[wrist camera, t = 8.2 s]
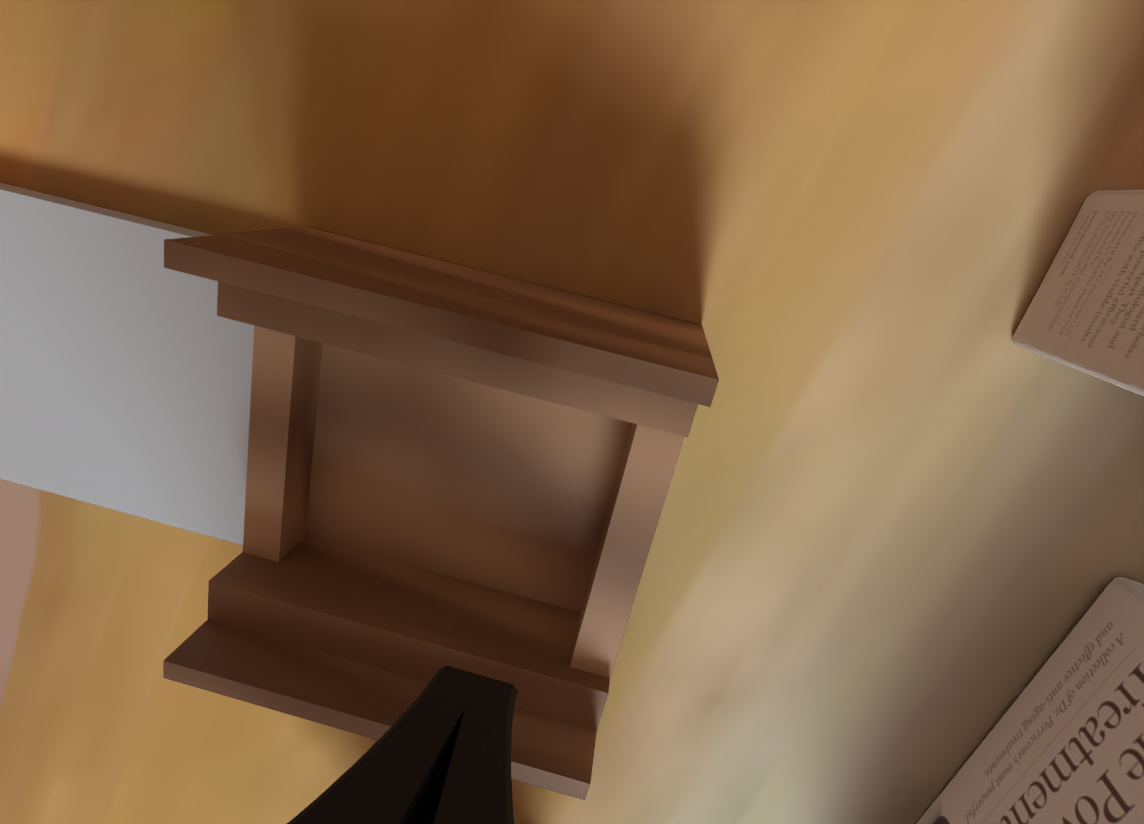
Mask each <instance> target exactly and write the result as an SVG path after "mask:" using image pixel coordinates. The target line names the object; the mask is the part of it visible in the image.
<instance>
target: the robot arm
mask: <svg viewBox="0 0 1144 824" xmlns="http://www.w3.org/2000/svg"><path fill="white" fill-rule="evenodd" d="M517 693H518V691H517V689H516V688H515V686H514V685H513V684H510V683H507V682H503V681H500V680H496V679H493V678H489V677H486V676H482V675H479V674H475V673H472V672H468V671H464V670H461V669H457V668H454V667H450V666H444V667H442V668H440V669H439V670H438V672H437V673H436V674H435V676H434V677H433V678H432V680H431V681H430V682H429V684H428V685H427V686H426V687H425V689H424V690H423V691H422V692H421V694H420V695H419V696H418V697H417V698H416V700H415V701H414V702H413V703H412V704H411V705H410V706H409V708H408V709H407V710H406V711H405V712H404V713H403V714H402V715H401V717H400V718H399V719H398V720H397V721H396V722H395V723H394V724H393V725H392V726H391V727H390V728H389V729H388V730H387V731H386V732H385V733H384V735H383V736H382V737H381V738H380V739H379V740H378V741H377V742H376V743H375V744H374V745H373V746H372V747H371V748H370V749H369V750H368V751H367V752H366V753H365V754H364V755H363V756H362V757H361V758H360V759H359V760H358V761H357V762H356V763H355V764H354V765H353V766H352V767H350V768H349V769H348V770H347V771H346V772H345V773H344V774H343V775H342V776H341V777H340V778H339V779H337V780H336V781H335V782H334V783H333V784H332V785H331V786H330V787H329V788H328V789H327V790H326V791H325V792H323V793H322V794H321V795H320V796H319V797H318V798H317V799H316V800H314V801H313V802H312V803H311V804H310V805H309V806H308V807H306V808H305V809H304V810H303V811H302V812H301V813H299V814H298V815H297V816H296V817H295V818H293V819H292V820H291V821H290V822H289V823H287V824H514V819H513V804H512V780H511V740H512V722H513V713H514V707H515V701H516V697H517Z"/></svg>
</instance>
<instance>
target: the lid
mask: <svg viewBox="0 0 1144 824" xmlns="http://www.w3.org/2000/svg"><path fill="white" fill-rule="evenodd" d="M210 235H211V234H207V233H203V232H199V231H195V230H191V229H187V228H183V227H179V226H175V225H171V224H167V223H163V222H159V221H155V220H151V219H147V218H142V217H138V216H134V215H130V214H126V213H122V212H118V211H114V210H110V209H106V208H102V207H98V206H94V205H90V204H86V203H82V202H78V201H73V200H69V199H65V198H61V197H57V196H53V195H49V194H45V193H41V192H37V191H33V190H29V189H25V188H21V187H17V186H13V185H8V184H4V183H0V479H4V480H8V481H11V482H15V483H18V484H23V485H26V486H30V487H33V488H37V489H40V490H44V491H48V492H51V493H55V494H58V495H62V496H66V497H69V498H73V499H77V500H80V501H84V502H87V503H91V504H95V505H98V506H102V507H106V508H109V509H113V510H117V511H120V512H124V513H127V514H131V515H135V516H138V517H142V518H146V519H149V520H153V521H157V522H160V523H164V524H167V525H171V526H175V527H178V528H182V529H186V530H189V531H193V532H196V533H200V534H204V535H207V536H211V537H215V538H218V539H222V540H226V541H229V542H233V543H236V544H240V545H243V537H244V517H245V498H246V478H247V459H248V439H249V419H250V400H251V380H252V361H253V341H254V325H250V324H247V323H243V322H239V321H235V320H231V319H227V318H223V317H219V316H217V294H218V281H214V280H210V279H207V278H203V277H199V276H195V275H191V274H187V273H183V272H179V271H175V270H171V269H167V268H164V239H175V238H187V237H198V236H210Z"/></svg>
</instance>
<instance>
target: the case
mask: <svg viewBox="0 0 1144 824" xmlns="http://www.w3.org/2000/svg"><path fill="white" fill-rule="evenodd" d="M164 268H167V269H171V270H175V271H179V272H183V273H187V274H191V275H195V276H199V277H203V278H207V279H210V280H214V281H218V294H217V316H219V317H223V318H227V319H231V320H235V321H239V322H243V323H247V324H250V325H254V341H253V361H252V380H251V400H250V419H249V439H248V459H247V478H246V498H245V517H244V537H243V552H242V553H241V554H240V555H239V556H238V557H236V558H235V559H234V560H233V561H232V562H231V563H229V564H228V565H227V566H226V567H225V568H224V569H222V570H221V571H220V572H219V573H218V574H216V575H215V576H214V577H213V578H212V579H211V580H209V593H208V620H207V621H206V622H205V623H204V624H202V625H201V626H200V627H199V628H198V629H197V630H196V631H195V632H194V633H193V634H192V635H191V636H190V637H188V638H187V639H186V640H185V641H184V642H183V643H182V644H181V645H180V646H179V647H178V648H177V649H176V650H175V651H173V652H172V653H171V654H170V655H169V656H168V657H167V658H166V659H165V660H164V678H166V679H169V680H173V681H176V682H180V683H183V684H187V685H190V686H194V687H197V688H200V689H204V690H207V691H211V692H214V693H218V694H221V695H225V696H228V697H231V698H235V699H238V700H242V701H245V702H249V703H252V704H256V705H259V706H262V707H266V708H269V709H273V710H276V711H280V712H283V713H287V714H290V715H293V716H297V717H300V718H304V719H307V720H311V721H314V722H317V723H321V724H324V725H328V726H331V727H335V728H338V729H342V730H345V731H348V732H352V733H355V734H359V735H362V736H366V737H369V738H373V739H376V740H379V739H380V738H381V737H382V736H383V735H384V733H385V732H386V731H387V730H388V729H389V728H390V727H391V726H392V725H393V724H394V723H395V722H396V721H397V720H398V719H399V718H400V717H401V715H402V714H403V713H404V712H405V711H406V710H407V709H408V708H409V706H410V705H411V704H412V703H413V702H414V701H415V700H416V698H417V697H418V696H419V695H420V694H421V692H422V691H423V690H424V689H425V687H426V686H427V685H428V684H429V682H430V681H431V680H432V678H433V677H434V676H435V674H436V673H437V672H438V670H439V669H440V668H442V667H444V666H450V667H454V668H457V669H461V670H464V671H468V672H472V673H475V674H479V675H482V676H486V677H489V678H493V679H496V680H500V681H503V682H507V683H510V684H513V685H514V686H515V688H516V689H517V691H518V693H517V697H516V701H515V707H514V713H513V722H512V740H511V779H514V780H517V781H521V782H524V783H527V784H531V785H534V786H538V787H541V788H545V789H548V790H552V791H555V792H558V793H562V794H565V795H569V796H572V797H576V798H579V799H583V800H585V799H586V795H587V792H588V789H589V786H590V781H591V773H592V765H593V756H594V748H595V740H596V732H597V728H598V724H599V721H600V718H601V715H602V711H603V708H604V705H605V702H606V699H607V695H608V690H609V681H610V676H611V673H612V669H613V666H614V663H615V660H616V656H617V653H618V650H619V647H620V643H621V640H622V637H623V634H624V630H625V627H626V624H627V621H628V618H629V614H630V611H631V608H632V605H633V601H634V598H635V595H636V592H637V588H638V585H639V582H640V579H641V575H642V572H643V569H644V566H645V562H646V559H647V556H648V553H649V549H650V546H651V543H652V540H653V537H654V533H655V530H656V527H657V524H658V520H659V517H660V514H661V511H662V507H663V504H664V501H665V498H666V494H667V491H668V488H669V485H670V481H671V478H672V475H673V472H674V469H675V465H676V462H677V459H678V456H679V452H680V449H681V446H682V443H683V439H684V437H688V435H689V432H690V428H691V425H692V422H693V419H694V415H695V412H696V409H697V406H698V404H700V405H704V406H708V407H710V406H711V403H712V400H713V397H714V393H715V390H716V387H717V384H718V381H719V379H718V375H717V372H716V369H715V366H714V363H713V359H712V356H711V353H710V350H709V347H708V343H707V340H706V337H705V334H704V331H703V327H702V325H699V324H695V323H691V322H687V321H683V320H679V319H675V318H671V317H667V316H663V315H659V314H655V313H651V312H647V311H643V310H639V309H635V308H631V307H627V306H623V305H619V304H614V303H610V302H606V301H602V300H598V299H594V298H590V297H586V296H582V295H578V294H574V293H570V292H566V291H562V290H558V289H554V288H550V287H546V286H542V285H538V284H534V283H530V282H526V281H522V280H518V279H514V278H510V277H506V276H502V275H498V274H494V273H490V272H486V271H482V270H478V269H474V268H470V267H466V266H462V265H458V264H454V263H450V262H446V261H442V260H437V259H433V258H429V257H425V256H421V255H417V254H413V253H409V252H405V251H401V250H397V249H393V248H389V247H385V246H381V245H377V244H373V243H369V242H365V241H361V240H357V239H353V238H349V237H345V236H341V235H337V234H333V233H329V232H325V231H321V230H317V229H313V228H309V227H302V228H290V229H279V230H267V231H256V232H244V233H233V234H221V235H210V236H198V237H187V238H175V239H164Z"/></svg>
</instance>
